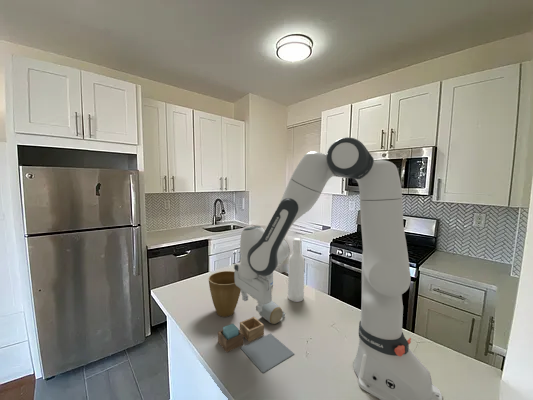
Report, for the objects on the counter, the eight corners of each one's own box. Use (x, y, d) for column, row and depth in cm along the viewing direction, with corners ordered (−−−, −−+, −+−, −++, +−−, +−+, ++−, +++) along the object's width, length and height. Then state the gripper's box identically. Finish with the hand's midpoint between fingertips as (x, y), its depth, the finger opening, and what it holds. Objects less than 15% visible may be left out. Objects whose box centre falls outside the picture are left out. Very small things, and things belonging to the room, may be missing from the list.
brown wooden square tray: (243, 345, 82) (243, 334, 81) (226, 353, 78) (226, 341, 77) (234, 335, 87) (234, 325, 87) (218, 342, 83) (217, 331, 83)
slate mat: (294, 354, 77) (294, 353, 77) (262, 373, 69) (262, 372, 69) (270, 334, 87) (270, 333, 87) (240, 348, 80) (240, 347, 80)
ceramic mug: (270, 328, 91) (271, 309, 91) (257, 318, 97) (258, 301, 97) (289, 319, 98) (290, 301, 97) (276, 310, 104) (277, 294, 104)
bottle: (303, 302, 111) (304, 241, 109) (287, 301, 112) (288, 240, 110) (303, 294, 119) (305, 237, 117) (288, 293, 120) (289, 236, 118)
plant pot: (222, 326, 92) (222, 287, 91) (202, 312, 102) (201, 277, 101) (249, 311, 103) (250, 276, 102) (228, 300, 113) (228, 268, 112)
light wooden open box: (263, 335, 87) (263, 324, 87) (249, 342, 83) (249, 331, 83) (253, 326, 92) (254, 316, 92) (239, 333, 88) (239, 322, 88)
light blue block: (238, 343, 82) (238, 328, 82) (228, 348, 79) (228, 333, 79) (232, 337, 85) (232, 323, 85) (223, 341, 83) (223, 327, 82)
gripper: (276, 276, 80) (275, 315, 81) (244, 260, 96) (244, 292, 97) (261, 281, 76) (261, 321, 77) (231, 263, 92) (231, 297, 93)
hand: (251, 305), depth 87 cm, fingers open, 8 cm apart
